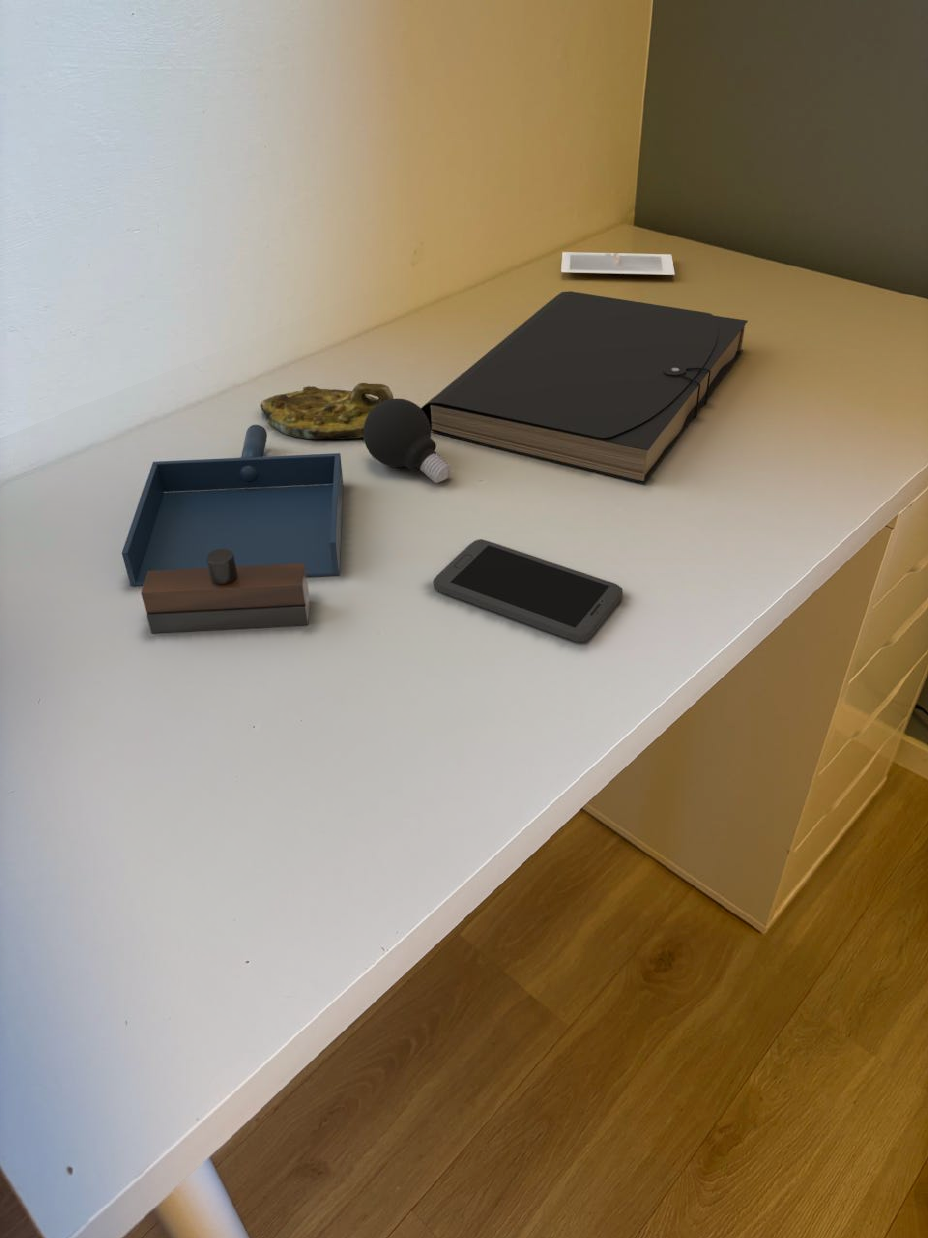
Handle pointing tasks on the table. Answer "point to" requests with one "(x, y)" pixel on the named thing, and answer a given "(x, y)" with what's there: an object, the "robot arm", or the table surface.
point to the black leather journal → (592, 383)
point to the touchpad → (617, 263)
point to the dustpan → (239, 512)
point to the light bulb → (403, 438)
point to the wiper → (226, 596)
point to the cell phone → (529, 589)
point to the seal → (324, 411)
